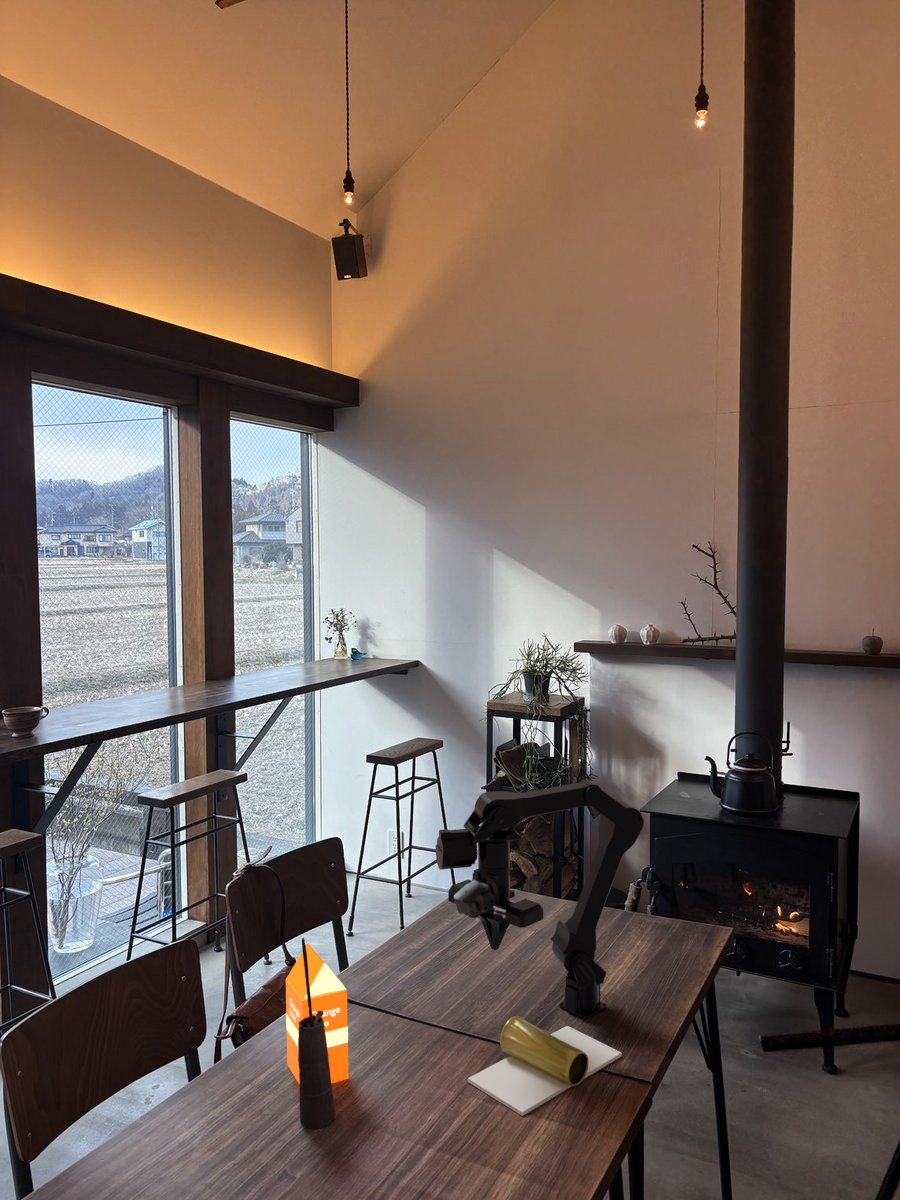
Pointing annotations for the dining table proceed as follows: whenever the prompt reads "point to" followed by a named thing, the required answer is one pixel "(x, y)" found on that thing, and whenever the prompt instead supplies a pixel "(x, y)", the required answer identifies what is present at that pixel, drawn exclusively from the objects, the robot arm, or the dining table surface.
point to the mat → (538, 1074)
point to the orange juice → (325, 998)
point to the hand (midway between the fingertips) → (494, 949)
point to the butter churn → (314, 1066)
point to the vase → (544, 1051)
